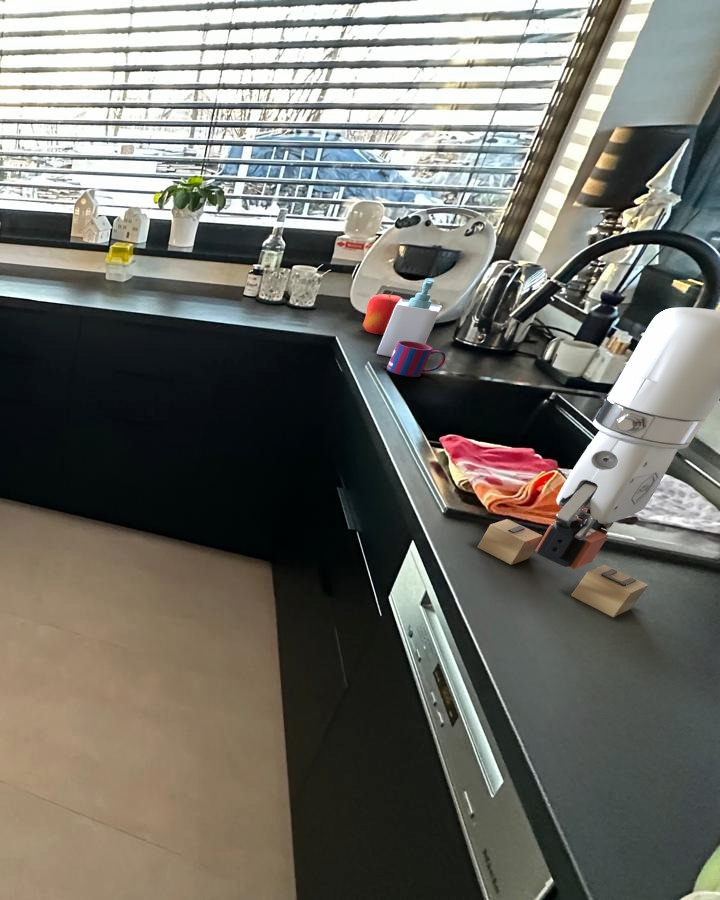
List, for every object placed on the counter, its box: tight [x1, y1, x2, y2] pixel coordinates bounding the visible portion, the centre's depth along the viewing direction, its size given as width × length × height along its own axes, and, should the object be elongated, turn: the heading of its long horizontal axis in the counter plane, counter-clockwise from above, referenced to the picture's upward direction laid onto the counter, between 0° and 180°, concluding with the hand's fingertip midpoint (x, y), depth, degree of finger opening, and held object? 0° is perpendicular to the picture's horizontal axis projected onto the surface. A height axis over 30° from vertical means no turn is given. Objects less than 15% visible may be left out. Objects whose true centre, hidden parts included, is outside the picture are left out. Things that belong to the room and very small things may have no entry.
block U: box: [570, 564, 649, 618], centre depth 74 cm, size 4×4×4 cm
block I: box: [477, 518, 543, 566], centre depth 82 cm, size 4×4×4 cm
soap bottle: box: [376, 277, 442, 358], centre depth 155 cm, size 9×9×19 cm
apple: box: [362, 291, 404, 336], centre depth 175 cm, size 9×8×12 cm
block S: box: [534, 523, 609, 570], centre depth 76 cm, size 4×4×4 cm
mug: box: [386, 341, 447, 378], centre depth 145 cm, size 7×10×7 cm
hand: (564, 554), depth 77 cm, fingers closed on block S, 4 cm apart
